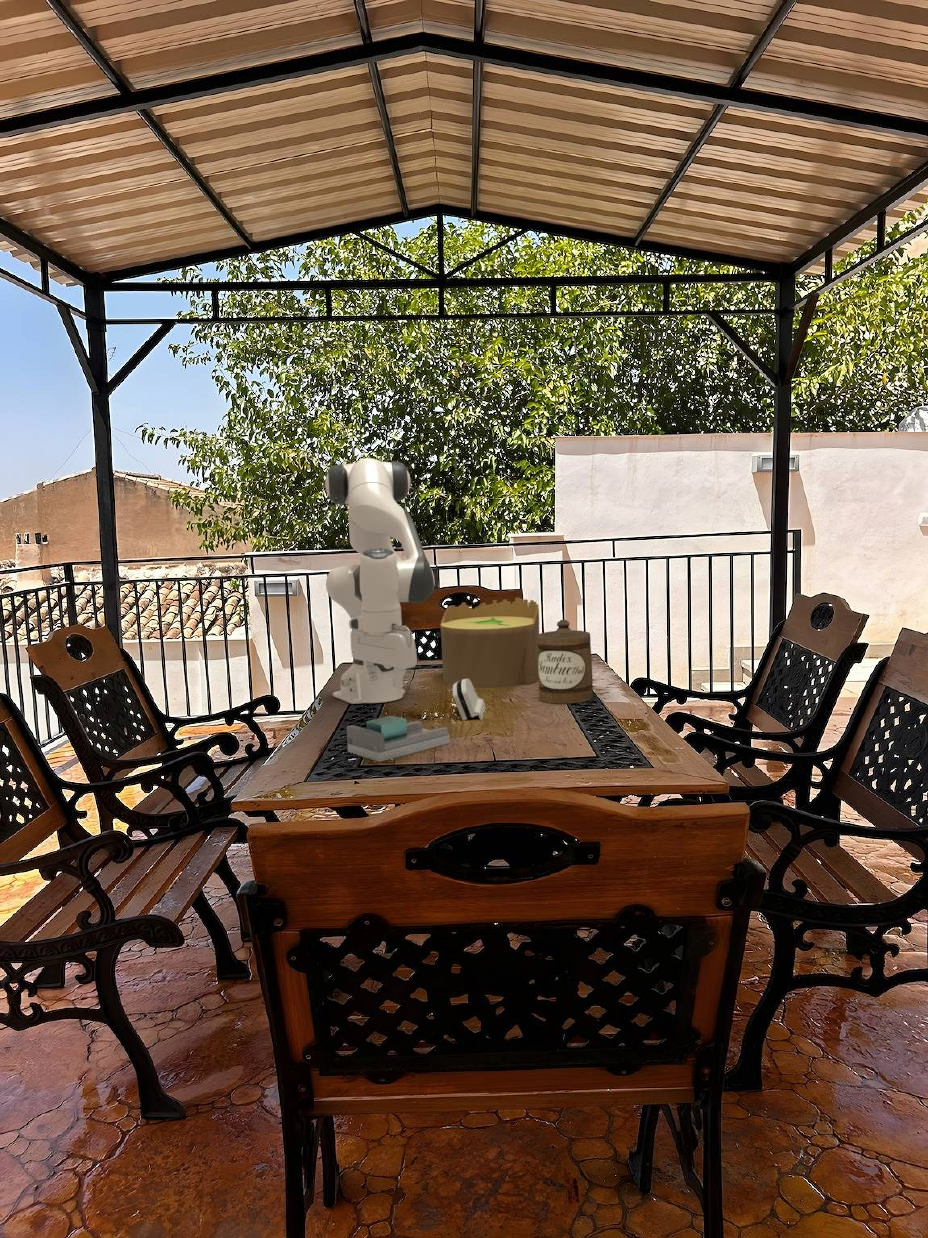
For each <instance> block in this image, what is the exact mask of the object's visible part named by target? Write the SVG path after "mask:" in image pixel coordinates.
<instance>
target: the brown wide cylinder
mask: <svg viewBox="0 0 928 1238" xmlns="http://www.w3.org/2000/svg"><path fill="white" fill-rule="evenodd" d="M497 601H498V600H496V599H494V600H492V603H490V604H486V602H483V603H481V604H480V605H478V606H476V607H474V609H473V607H470V606H469V605H467V602H461V605H460V604H459V605H458V606H456V605H449V606H448V608H445V610H444V613H443V616H441V617H442V618H441V620H440V626H439V627H440V639H441V659H442V660H441V661H442V682H444V683H445V684H447V685H450V686H453V685H454V684H455V683H456V682H458V681H462V680H463V679H470V681H471V683H472V685H473V687H474V689H476V688H477V689H489V688H490V689H493V688H494V689H495V688H506V687H507V688H508V687H517V686H528V685H529V686H530V685H533V684H537V683H539V676H538V642H537V636H538V634H540V610H539V609H540V608H539V607H540V606H539V603H537V601H534V600H533V599H530V601H529V600H528V599H527V598H526V599H523V598H520V597H515V601H512V602H511V601H508V599H502V601H499V602H497Z"/></svg>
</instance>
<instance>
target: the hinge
mask: <svg viewBox="0 0 928 1238" xmlns="http://www.w3.org/2000/svg"><path fill="white" fill-rule="evenodd" d="M452 696H453V699H454V702H455V704H456V706H457V709H458V712H459V714H460V718H461V720H462V721H466V720H468V718H469V717H470V718H474V717H477V716H478V718H479V720H481V721H482V720H483V717H484V713H485V711H486V710H485V709H486V703H485V701H484V699H482V698H479V697H478V695H477V692H476V690H475V688H474V687H473V685H472V683H471V681H470V679H463V680H462V681H458V682H456V683H455V684H454V685H452Z"/></svg>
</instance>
